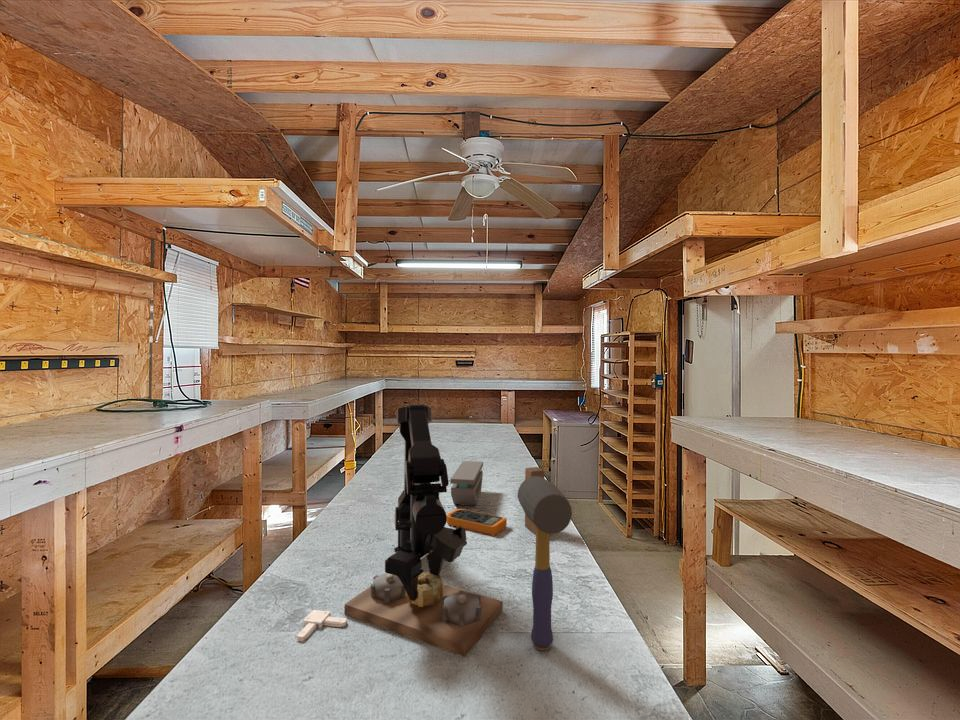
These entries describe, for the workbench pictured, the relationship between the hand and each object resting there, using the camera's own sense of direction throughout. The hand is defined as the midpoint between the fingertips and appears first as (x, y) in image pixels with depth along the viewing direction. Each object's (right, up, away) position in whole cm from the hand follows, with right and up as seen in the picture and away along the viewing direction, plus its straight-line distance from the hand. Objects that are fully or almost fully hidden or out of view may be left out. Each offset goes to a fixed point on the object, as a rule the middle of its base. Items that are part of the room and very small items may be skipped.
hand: (424, 591), depth 93 cm
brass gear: (0, -1, 0) cm, 1 cm away
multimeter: (+10, -4, +46) cm, 47 cm away
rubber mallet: (+23, -5, -10) cm, 25 cm away
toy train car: (+7, -3, +71) cm, 71 cm away
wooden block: (+29, -4, +43) cm, 51 cm away
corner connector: (-19, -5, -6) cm, 21 cm away
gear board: (0, -4, 0) cm, 4 cm away
